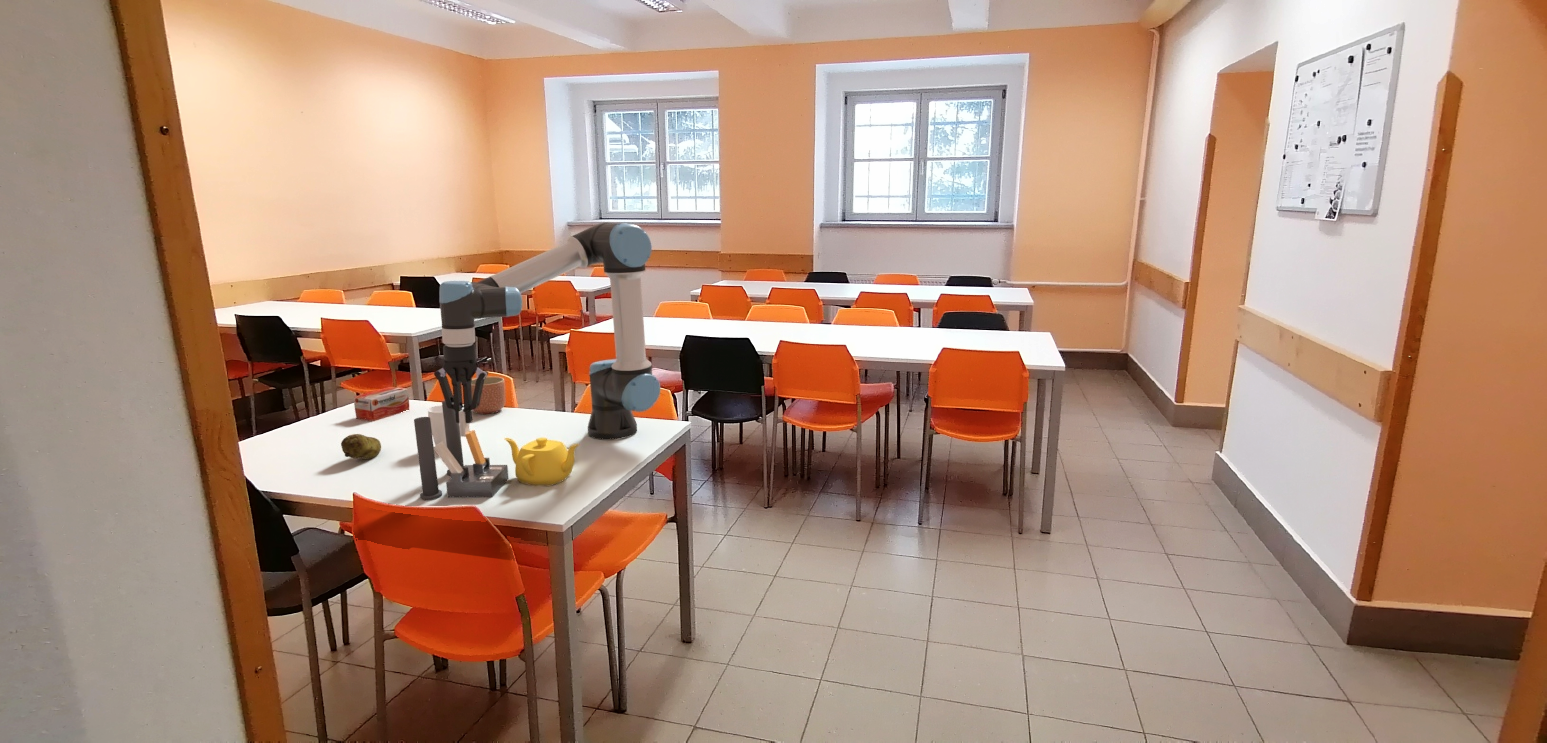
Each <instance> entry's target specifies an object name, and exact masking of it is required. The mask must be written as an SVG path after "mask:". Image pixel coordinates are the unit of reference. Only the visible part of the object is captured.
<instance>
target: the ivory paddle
mask: <svg viewBox="0 0 1547 743" xmlns="http://www.w3.org/2000/svg"><path fill="white" fill-rule="evenodd" d="M433 448H434V452H435V453H436V454H437V455H438V456H439V458H440V460H441V461H442V462H443V464H444V465H445V466H446V467H447V470H448V469H449V470H450V472H451V473H461V476H462V477H463V476H464V475H465V473H466V472H465V470H463V469H462V467H461V466H460V465H459V463H458V462H457V461H456V459H455V458H454V456H453V455H452V454H451V452H450V451H449V450H448V448H447V447H446V445H445V444H444V443H443V441H442V442H440V443H439V444H437V445H436V446H435V445H434V447H433Z"/></svg>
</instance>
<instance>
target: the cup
mask: <svg viewBox="0 0 1547 743" xmlns="http://www.w3.org/2000/svg"><path fill="white" fill-rule="evenodd" d="M427 414H428V416H427V417H430V421H431V429H432V438H433V443H434V447H435V446H436V445H437V444H439V443H440V442H442V441H443V443H444V444H445V445H446V447H447V443H446V434H445V425H444V417H443V408H442V404H439V405H436V406H432V407H430V408H429V409H427ZM459 427H460V423H459Z"/></svg>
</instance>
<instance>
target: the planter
mask: <svg viewBox="0 0 1547 743" xmlns="http://www.w3.org/2000/svg"><path fill="white" fill-rule="evenodd" d="M476 380H477V377H476V378H472V382H471V390H472V399H473V394H474V389H475V384H476ZM505 405H506V381H505V379H504V377H500V376H487V377H486V378H485V380H484V384H483V389H482V394H481V399H480V404H479V406H478V407H477V408H475V409H472V412H474V413H476V414H479V415H489V414H494V413H497V412H499V411H501V410H502V409H503V408H504V406H505Z"/></svg>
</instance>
